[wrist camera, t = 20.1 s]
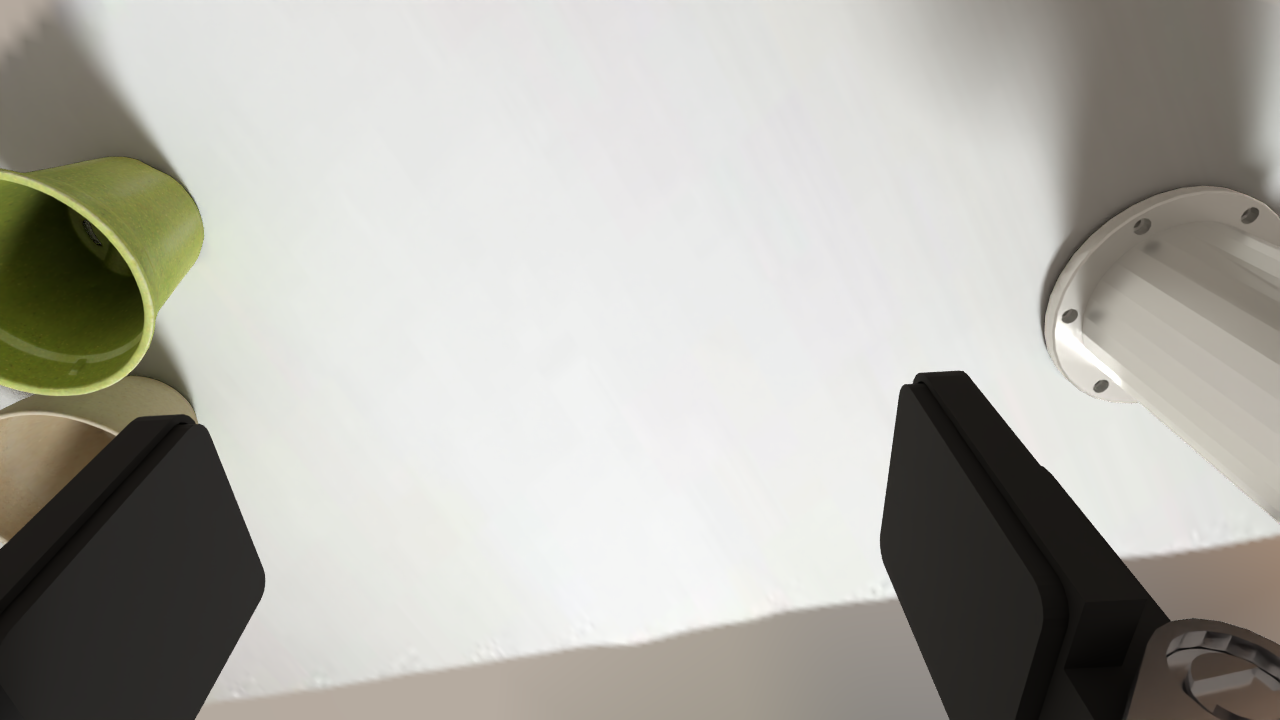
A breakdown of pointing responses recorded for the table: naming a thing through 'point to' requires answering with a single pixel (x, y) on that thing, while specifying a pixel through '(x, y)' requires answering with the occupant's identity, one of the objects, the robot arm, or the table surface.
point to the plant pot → (87, 270)
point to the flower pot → (67, 440)
